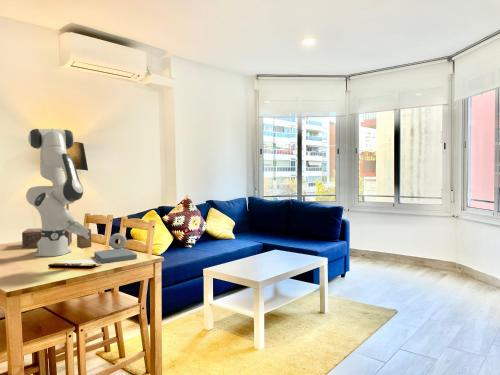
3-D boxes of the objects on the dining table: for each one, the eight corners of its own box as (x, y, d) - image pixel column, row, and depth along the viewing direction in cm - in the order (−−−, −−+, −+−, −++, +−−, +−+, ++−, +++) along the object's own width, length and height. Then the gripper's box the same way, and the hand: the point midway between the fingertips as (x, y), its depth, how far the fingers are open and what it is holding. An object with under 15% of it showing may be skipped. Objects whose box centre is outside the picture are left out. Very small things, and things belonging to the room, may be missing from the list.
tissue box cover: (71, 241, 256) (71, 227, 256) (68, 246, 243) (68, 230, 242) (28, 244, 248) (27, 228, 248) (22, 248, 235) (22, 232, 234)
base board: (94, 256, 215) (94, 252, 215) (126, 252, 225) (126, 248, 225) (102, 263, 200) (102, 258, 200) (136, 258, 210) (136, 254, 210)
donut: (109, 250, 230) (108, 234, 229) (109, 249, 233) (109, 233, 233) (126, 249, 233) (126, 233, 232) (126, 248, 236) (126, 232, 236)
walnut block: (77, 247, 194) (76, 229, 193) (86, 245, 197) (86, 228, 197) (81, 248, 190) (81, 230, 190) (91, 247, 194) (91, 229, 193)
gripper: (78, 217, 181) (99, 235, 189) (61, 212, 194) (80, 229, 202) (69, 227, 178) (90, 245, 186) (52, 222, 191) (72, 239, 199)
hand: (85, 237), depth 194 cm, fingers closed on walnut block, 5 cm apart
